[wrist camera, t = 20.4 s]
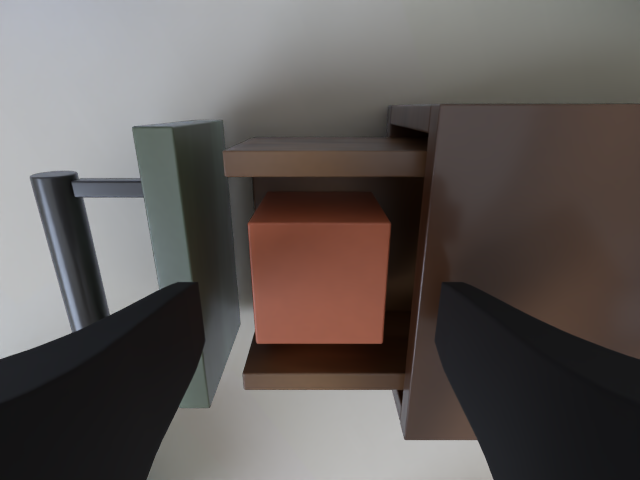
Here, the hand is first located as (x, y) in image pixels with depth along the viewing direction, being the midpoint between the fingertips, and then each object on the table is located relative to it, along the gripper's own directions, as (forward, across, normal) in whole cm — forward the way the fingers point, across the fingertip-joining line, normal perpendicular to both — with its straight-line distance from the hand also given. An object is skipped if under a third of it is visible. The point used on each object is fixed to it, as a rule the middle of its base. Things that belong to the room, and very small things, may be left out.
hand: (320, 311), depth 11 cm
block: (+6, 0, 0) cm, 6 cm away
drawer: (+7, -2, 0) cm, 7 cm away
